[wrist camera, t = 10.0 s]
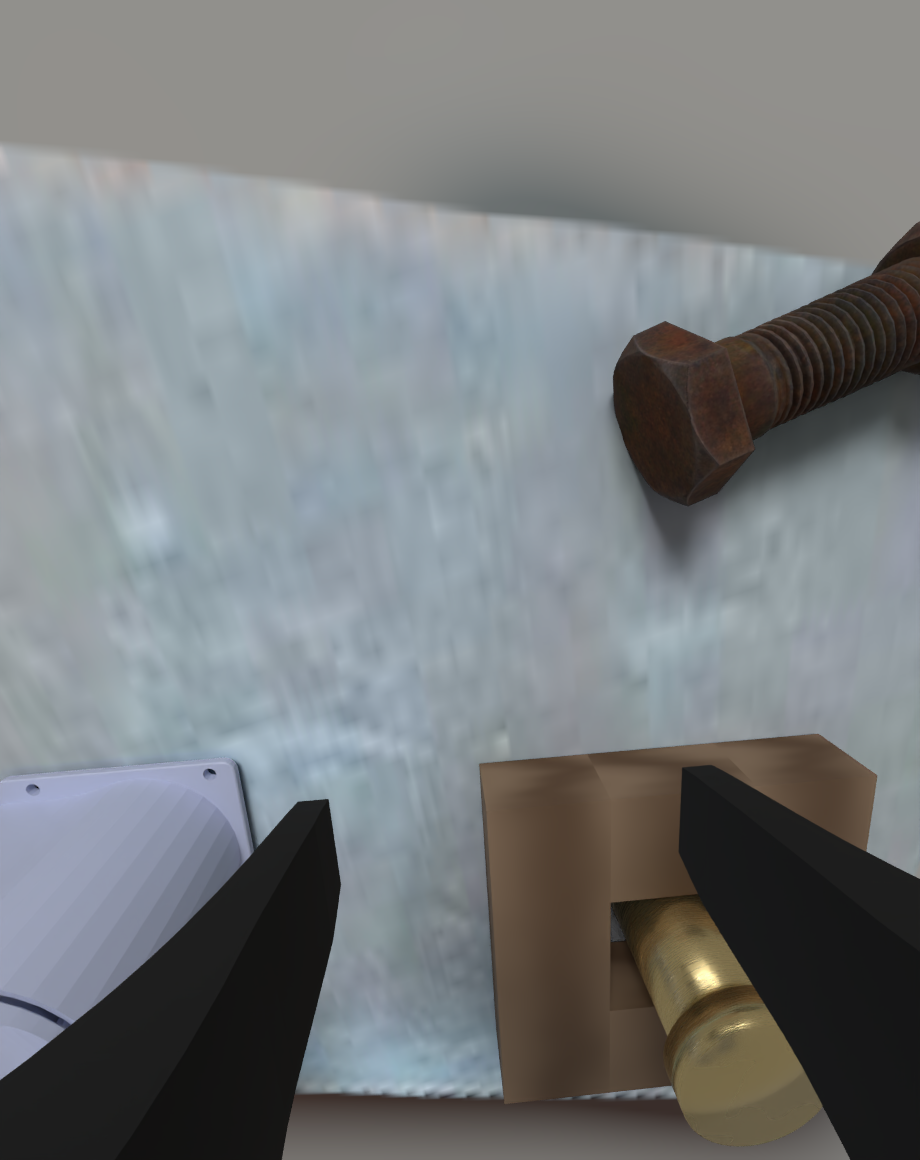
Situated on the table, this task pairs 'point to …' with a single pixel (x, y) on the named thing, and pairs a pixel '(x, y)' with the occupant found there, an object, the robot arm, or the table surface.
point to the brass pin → (715, 1027)
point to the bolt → (760, 376)
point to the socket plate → (613, 893)
